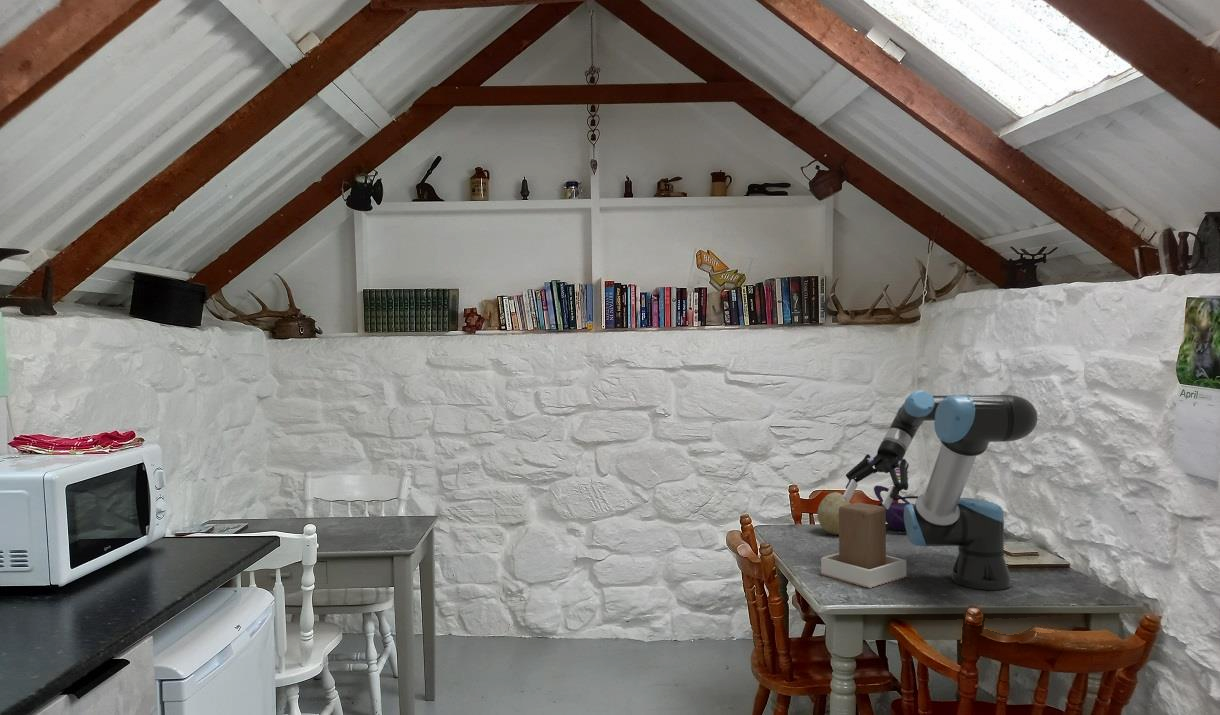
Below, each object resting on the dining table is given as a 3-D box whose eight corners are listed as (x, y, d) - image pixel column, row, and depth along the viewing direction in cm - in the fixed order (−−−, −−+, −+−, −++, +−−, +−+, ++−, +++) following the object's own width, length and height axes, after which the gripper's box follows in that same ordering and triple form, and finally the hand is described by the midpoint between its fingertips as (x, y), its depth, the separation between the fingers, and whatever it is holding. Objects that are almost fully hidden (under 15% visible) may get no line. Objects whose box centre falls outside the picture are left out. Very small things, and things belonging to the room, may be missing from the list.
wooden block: (867, 581, 220) (866, 511, 219) (837, 573, 228) (837, 505, 227) (887, 574, 226) (886, 506, 225) (858, 566, 234) (857, 501, 233)
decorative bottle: (926, 539, 265) (926, 467, 265) (864, 532, 276) (863, 463, 276) (936, 525, 285) (936, 458, 284) (878, 519, 295) (877, 455, 295)
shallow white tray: (906, 577, 224) (906, 560, 224) (870, 588, 214) (870, 571, 214) (857, 564, 238) (857, 548, 238) (821, 574, 228) (821, 557, 228)
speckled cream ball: (810, 533, 276) (809, 492, 276) (832, 528, 284) (831, 487, 283) (840, 540, 266) (839, 497, 266) (862, 534, 274) (861, 492, 273)
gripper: (936, 458, 227) (908, 517, 219) (864, 450, 247) (836, 503, 239) (926, 442, 224) (896, 501, 216) (854, 435, 244) (824, 488, 236)
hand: (864, 502), depth 227 cm, fingers open, 13 cm apart
